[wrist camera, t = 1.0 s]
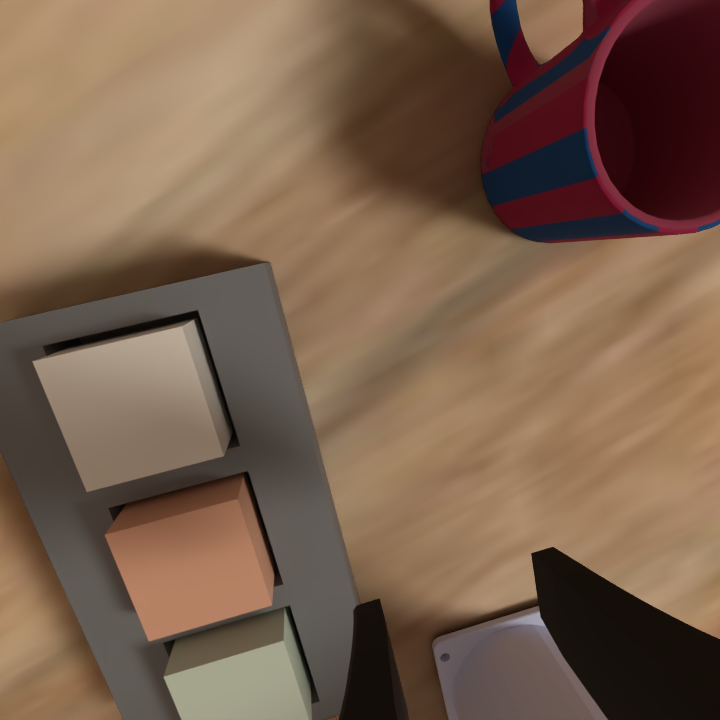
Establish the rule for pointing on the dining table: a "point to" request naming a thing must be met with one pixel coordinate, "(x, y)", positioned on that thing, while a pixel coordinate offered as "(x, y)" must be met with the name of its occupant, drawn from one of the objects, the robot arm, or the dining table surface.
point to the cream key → (137, 403)
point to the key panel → (186, 480)
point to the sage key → (241, 671)
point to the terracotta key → (193, 555)
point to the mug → (609, 125)
